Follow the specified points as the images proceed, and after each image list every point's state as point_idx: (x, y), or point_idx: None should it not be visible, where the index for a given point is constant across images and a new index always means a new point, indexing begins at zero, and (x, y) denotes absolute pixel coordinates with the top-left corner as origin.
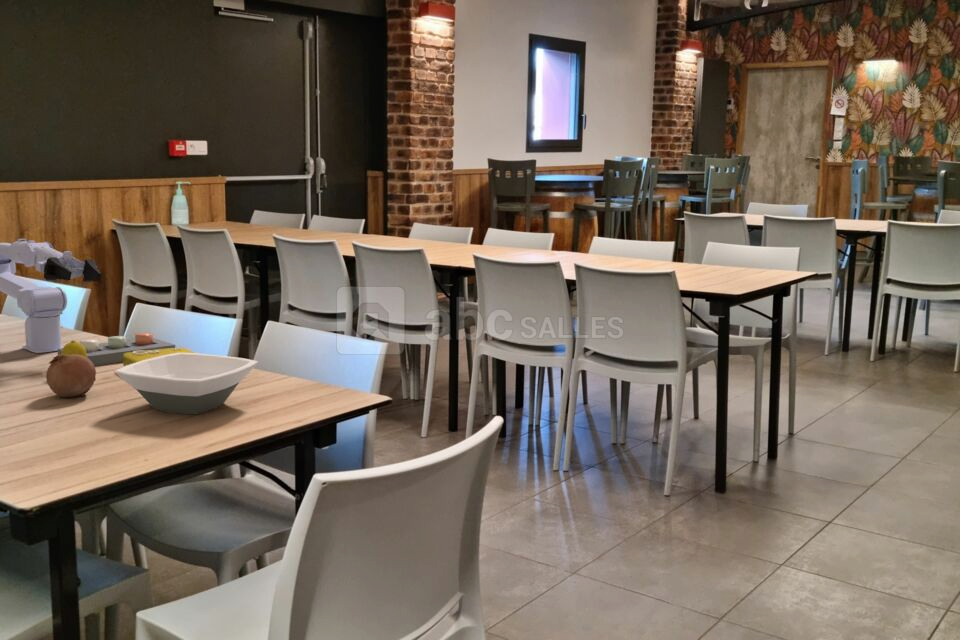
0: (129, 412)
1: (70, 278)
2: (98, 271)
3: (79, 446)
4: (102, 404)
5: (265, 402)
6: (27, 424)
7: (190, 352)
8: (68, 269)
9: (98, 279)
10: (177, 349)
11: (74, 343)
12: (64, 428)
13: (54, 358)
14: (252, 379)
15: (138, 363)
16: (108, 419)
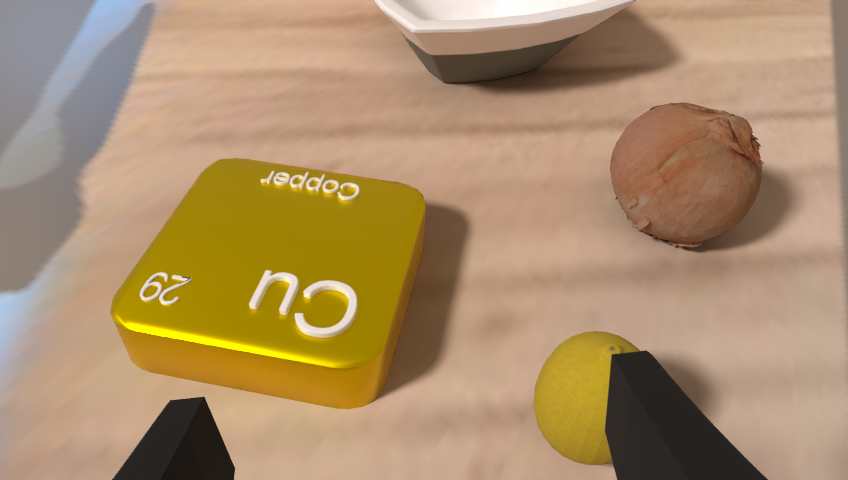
0: (590, 76)
1: (606, 416)
2: (165, 432)
3: (723, 13)
4: (618, 133)
5: (346, 10)
6: (797, 113)
7: (185, 221)
8: (646, 392)
9: (220, 453)
10: (175, 275)
11: (610, 338)
12: (731, 70)
13: (750, 142)
14: (206, 104)
15: (562, 9)
16: (642, 68)
